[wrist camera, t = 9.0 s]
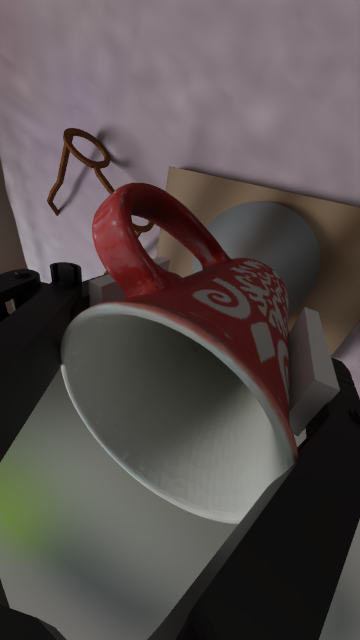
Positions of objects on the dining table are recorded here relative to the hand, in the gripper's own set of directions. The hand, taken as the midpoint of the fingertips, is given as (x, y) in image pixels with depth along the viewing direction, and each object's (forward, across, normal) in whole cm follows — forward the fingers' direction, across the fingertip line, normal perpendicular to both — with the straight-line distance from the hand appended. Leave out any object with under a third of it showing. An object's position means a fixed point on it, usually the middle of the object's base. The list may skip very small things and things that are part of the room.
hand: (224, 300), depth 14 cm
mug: (+4, 0, 0) cm, 4 cm away
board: (+11, 0, 0) cm, 11 cm away
